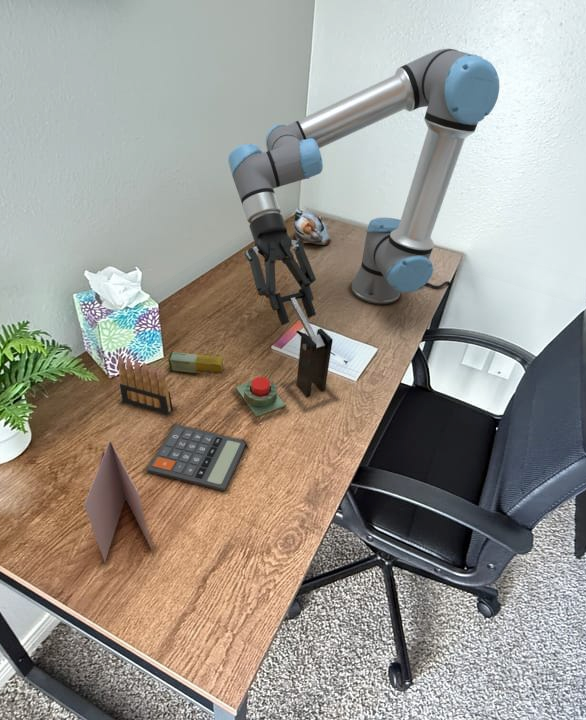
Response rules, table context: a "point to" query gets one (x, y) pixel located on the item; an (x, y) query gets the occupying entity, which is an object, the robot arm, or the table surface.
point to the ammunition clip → (144, 387)
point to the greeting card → (112, 499)
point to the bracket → (313, 363)
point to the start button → (260, 386)
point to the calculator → (198, 457)
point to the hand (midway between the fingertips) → (298, 319)
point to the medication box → (195, 363)
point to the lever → (304, 319)
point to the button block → (261, 399)
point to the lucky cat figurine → (310, 228)
